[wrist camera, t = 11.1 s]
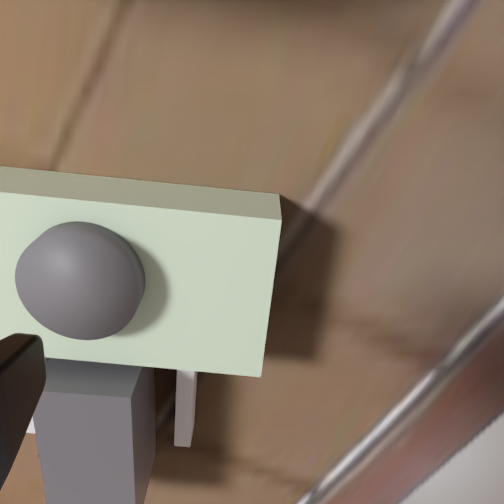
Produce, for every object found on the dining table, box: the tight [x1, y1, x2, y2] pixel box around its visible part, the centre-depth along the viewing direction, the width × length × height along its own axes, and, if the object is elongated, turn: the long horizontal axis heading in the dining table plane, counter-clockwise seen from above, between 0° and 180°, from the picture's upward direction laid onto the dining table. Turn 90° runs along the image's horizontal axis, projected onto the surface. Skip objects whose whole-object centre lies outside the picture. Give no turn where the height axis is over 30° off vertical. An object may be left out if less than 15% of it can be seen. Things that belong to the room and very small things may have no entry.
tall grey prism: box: [33, 358, 156, 504], centre depth 22 cm, size 4×8×4 cm, turn 176°
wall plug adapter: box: [0, 166, 282, 447], centre depth 20 cm, size 14×13×4 cm
